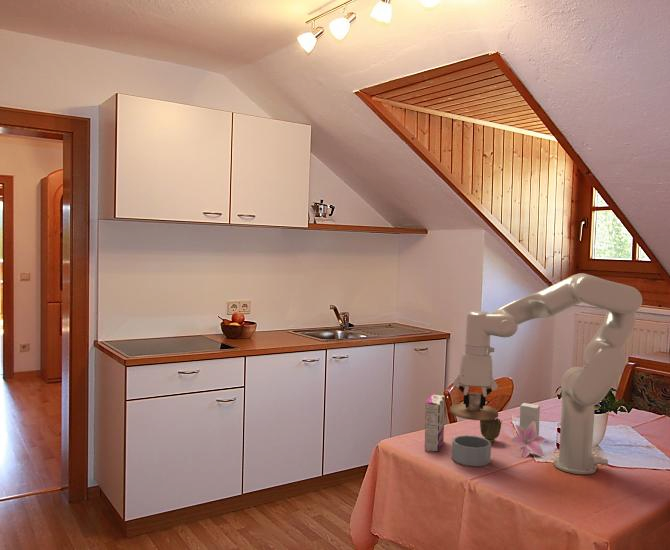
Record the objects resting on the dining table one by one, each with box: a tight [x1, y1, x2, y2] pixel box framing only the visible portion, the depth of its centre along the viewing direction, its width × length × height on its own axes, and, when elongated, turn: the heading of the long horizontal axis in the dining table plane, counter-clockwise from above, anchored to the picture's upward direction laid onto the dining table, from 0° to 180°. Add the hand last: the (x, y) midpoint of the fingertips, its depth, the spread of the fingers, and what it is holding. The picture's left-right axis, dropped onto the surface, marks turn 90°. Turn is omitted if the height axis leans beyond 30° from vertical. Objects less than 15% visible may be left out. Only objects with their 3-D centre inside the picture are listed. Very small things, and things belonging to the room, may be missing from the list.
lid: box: [449, 392, 499, 421], centre depth 198 cm, size 15×15×6 cm
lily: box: [509, 421, 547, 459], centre depth 207 cm, size 12×12×10 cm
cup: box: [479, 417, 503, 444], centre depth 217 cm, size 8×7×8 cm
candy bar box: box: [424, 394, 446, 453], centre depth 211 cm, size 11×5×16 cm, turn 161°
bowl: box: [451, 434, 492, 468], centre depth 200 cm, size 12×12×6 cm
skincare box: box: [519, 402, 541, 436], centre depth 222 cm, size 6×4×12 cm
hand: (474, 406), depth 198 cm, fingers closed on lid, 4 cm apart
